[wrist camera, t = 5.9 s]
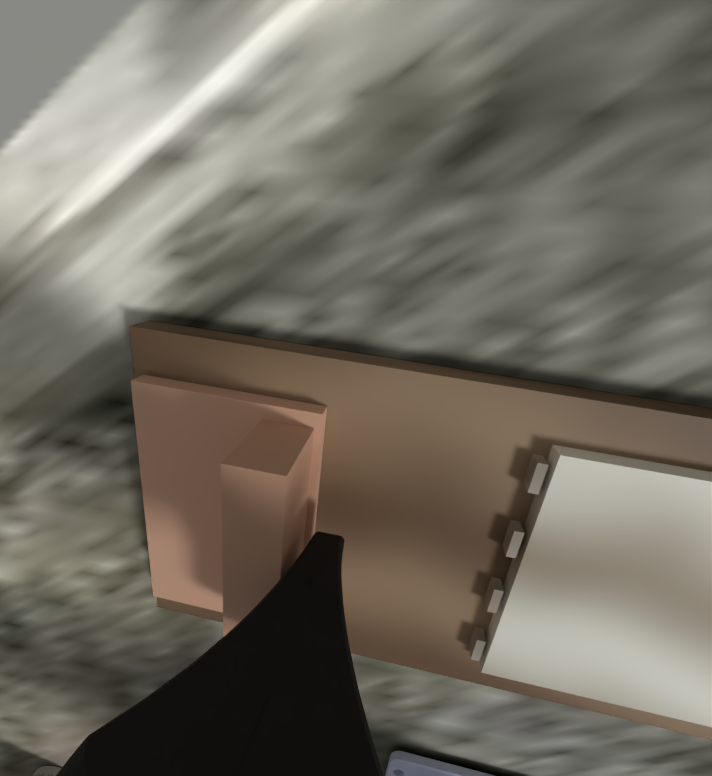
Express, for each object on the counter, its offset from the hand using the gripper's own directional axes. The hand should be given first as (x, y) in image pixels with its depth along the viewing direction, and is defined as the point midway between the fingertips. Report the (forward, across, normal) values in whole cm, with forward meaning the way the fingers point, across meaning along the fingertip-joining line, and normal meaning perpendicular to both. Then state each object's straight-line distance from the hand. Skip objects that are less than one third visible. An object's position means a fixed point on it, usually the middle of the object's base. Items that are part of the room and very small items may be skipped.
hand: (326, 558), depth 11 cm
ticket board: (+2, -5, 0) cm, 5 cm away
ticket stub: (+1, +4, 0) cm, 4 cm away
